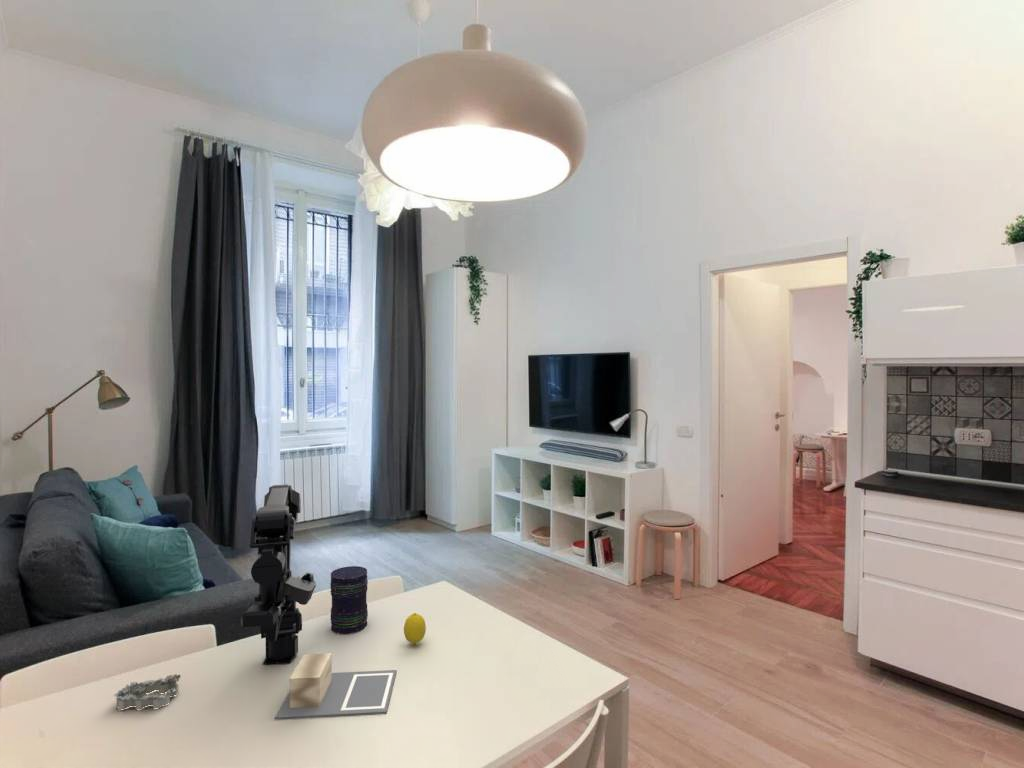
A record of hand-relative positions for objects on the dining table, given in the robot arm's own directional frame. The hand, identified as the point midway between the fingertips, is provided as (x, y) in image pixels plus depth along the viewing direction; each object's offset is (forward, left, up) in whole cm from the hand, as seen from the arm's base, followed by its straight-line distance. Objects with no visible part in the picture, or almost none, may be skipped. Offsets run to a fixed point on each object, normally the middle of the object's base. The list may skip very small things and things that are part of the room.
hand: (273, 641), depth 116 cm
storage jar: (+9, +33, -12) cm, 36 cm away
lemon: (+28, +21, -12) cm, 37 cm away
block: (+8, 0, -12) cm, 14 cm away
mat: (+14, 0, -12) cm, 18 cm away
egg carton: (-26, +1, -12) cm, 29 cm away
